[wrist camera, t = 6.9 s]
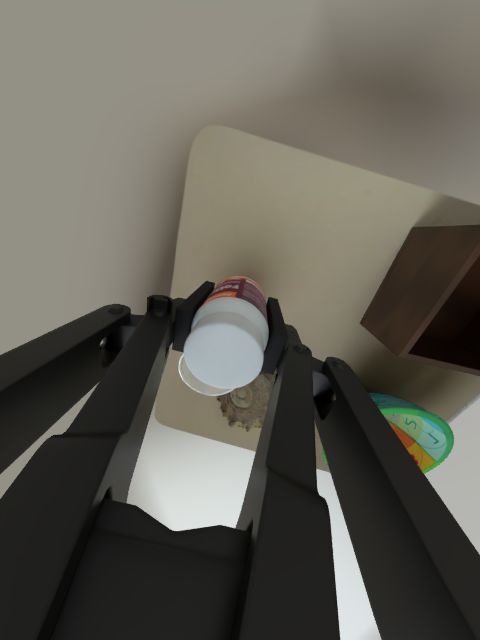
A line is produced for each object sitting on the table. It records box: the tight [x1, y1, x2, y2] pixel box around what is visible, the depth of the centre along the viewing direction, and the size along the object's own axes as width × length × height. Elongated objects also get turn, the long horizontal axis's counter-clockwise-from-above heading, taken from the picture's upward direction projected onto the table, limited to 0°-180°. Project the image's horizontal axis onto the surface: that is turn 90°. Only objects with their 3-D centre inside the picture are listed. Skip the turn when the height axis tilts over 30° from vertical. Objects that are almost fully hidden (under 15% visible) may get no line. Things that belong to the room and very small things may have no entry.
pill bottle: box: [184, 276, 269, 389], centre depth 13 cm, size 5×5×8 cm
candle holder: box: [179, 353, 235, 396], centre depth 34 cm, size 10×10×12 cm
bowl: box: [323, 393, 454, 473], centre depth 40 cm, size 22×22×10 cm
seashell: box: [217, 373, 272, 432], centre depth 41 cm, size 11×14×10 cm
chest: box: [360, 225, 480, 376], centre depth 28 cm, size 17×18×11 cm
